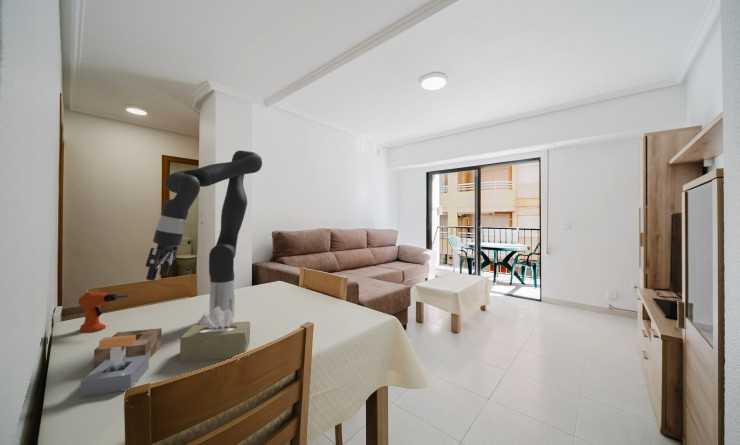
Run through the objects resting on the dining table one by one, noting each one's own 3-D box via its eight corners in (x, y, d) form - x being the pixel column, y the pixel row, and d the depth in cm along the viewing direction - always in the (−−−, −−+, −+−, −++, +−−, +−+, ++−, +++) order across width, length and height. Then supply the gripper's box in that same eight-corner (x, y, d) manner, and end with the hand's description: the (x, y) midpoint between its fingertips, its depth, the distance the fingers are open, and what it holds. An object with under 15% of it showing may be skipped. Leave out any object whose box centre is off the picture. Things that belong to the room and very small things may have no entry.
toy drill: (126, 329, 99) (122, 290, 99) (76, 334, 99) (71, 295, 99) (137, 324, 104) (133, 286, 104) (89, 328, 104) (85, 291, 103)
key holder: (148, 368, 78) (148, 354, 78) (130, 389, 68) (131, 374, 68) (105, 374, 74) (105, 360, 74) (80, 397, 65) (80, 381, 65)
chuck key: (136, 376, 74) (137, 333, 74) (130, 382, 71) (131, 338, 71) (104, 380, 71) (105, 336, 71) (97, 387, 69) (98, 341, 68)
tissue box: (178, 363, 81) (179, 312, 81) (191, 348, 90) (192, 302, 90) (244, 357, 86) (246, 309, 85) (250, 343, 95) (251, 299, 95)
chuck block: (161, 345, 91) (161, 328, 91) (145, 363, 80) (145, 344, 80) (117, 350, 87) (117, 332, 87) (93, 370, 76) (94, 349, 76)
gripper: (173, 233, 84) (159, 283, 82) (190, 232, 97) (178, 275, 96) (146, 228, 82) (131, 279, 80) (167, 228, 95) (154, 272, 94)
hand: (157, 277), depth 88 cm, fingers open, 8 cm apart
